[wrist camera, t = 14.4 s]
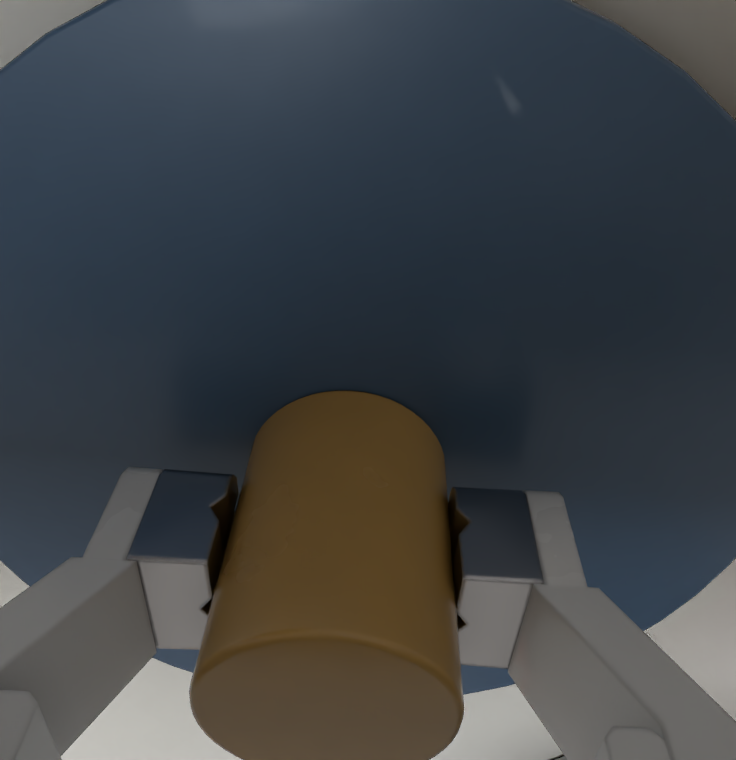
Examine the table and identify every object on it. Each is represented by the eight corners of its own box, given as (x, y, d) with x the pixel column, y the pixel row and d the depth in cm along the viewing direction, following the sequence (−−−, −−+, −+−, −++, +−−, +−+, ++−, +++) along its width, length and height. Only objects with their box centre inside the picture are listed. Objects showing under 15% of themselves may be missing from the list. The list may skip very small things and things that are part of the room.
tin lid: (873, -210, 7) (1606, -347, 3) (743, 624, 14) (880, 922, 10) (-288, 88, 9) (-884, 273, 5) (137, 679, 17) (50, 945, 12)
